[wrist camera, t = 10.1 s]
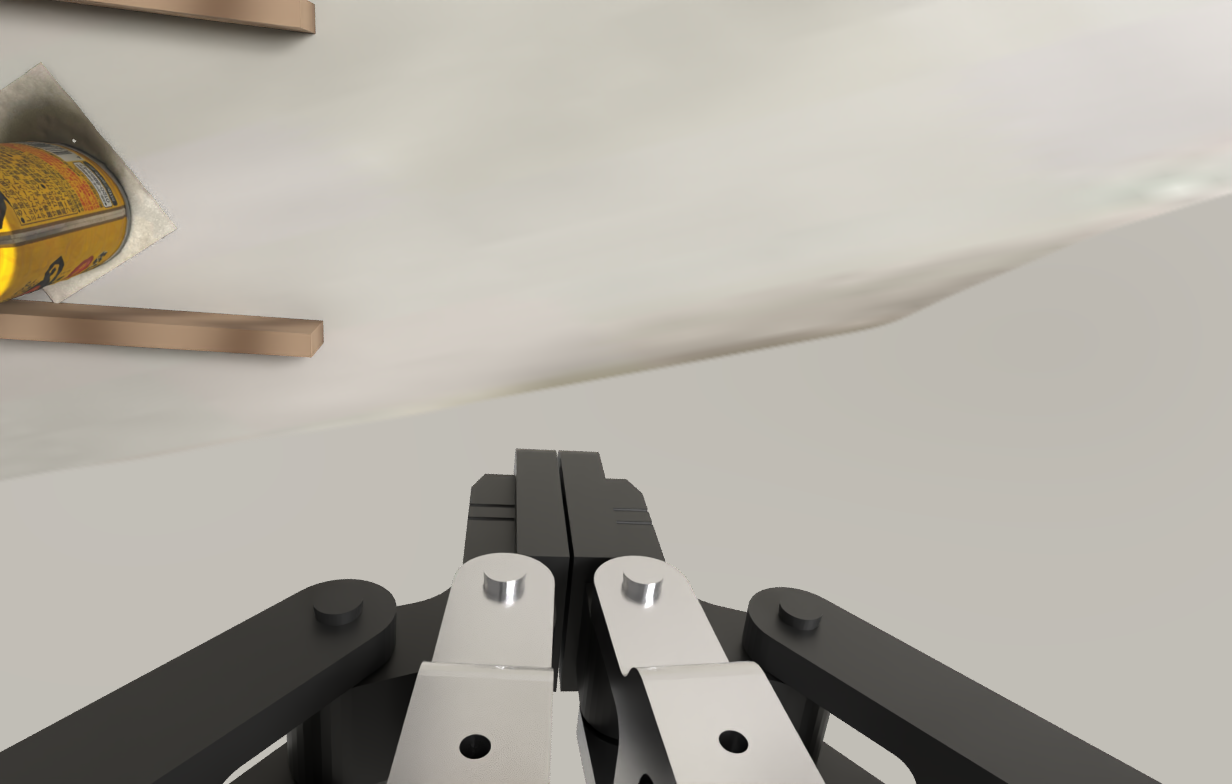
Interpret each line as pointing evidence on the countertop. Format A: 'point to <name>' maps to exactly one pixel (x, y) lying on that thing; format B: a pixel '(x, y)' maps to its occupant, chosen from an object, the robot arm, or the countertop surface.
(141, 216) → the condiment
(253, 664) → the robot arm
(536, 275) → the countertop surface
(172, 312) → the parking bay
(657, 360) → the countertop surface
